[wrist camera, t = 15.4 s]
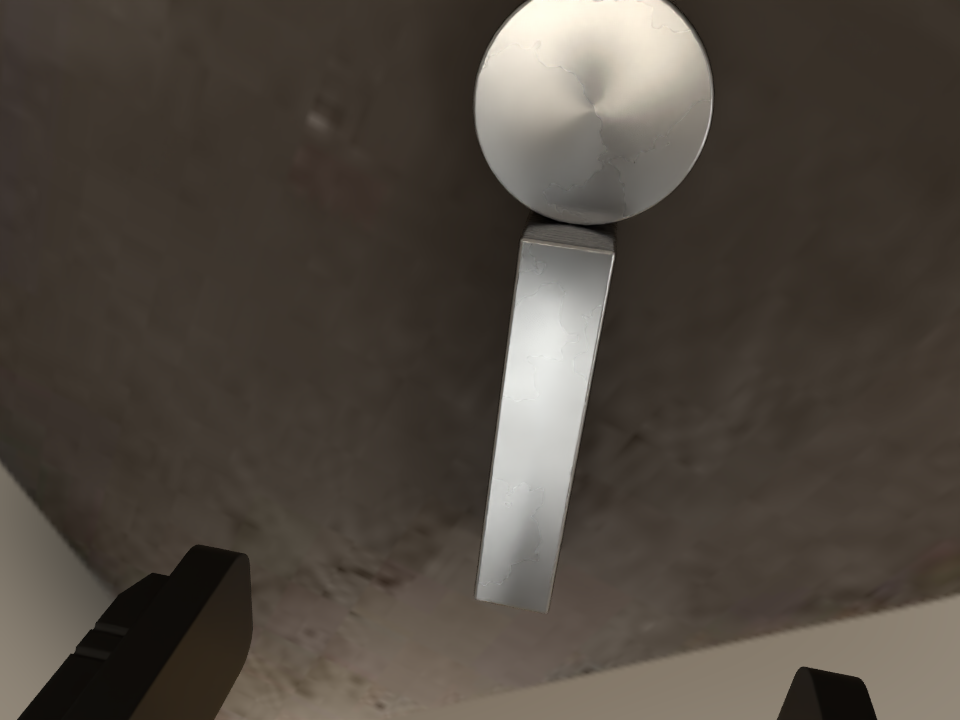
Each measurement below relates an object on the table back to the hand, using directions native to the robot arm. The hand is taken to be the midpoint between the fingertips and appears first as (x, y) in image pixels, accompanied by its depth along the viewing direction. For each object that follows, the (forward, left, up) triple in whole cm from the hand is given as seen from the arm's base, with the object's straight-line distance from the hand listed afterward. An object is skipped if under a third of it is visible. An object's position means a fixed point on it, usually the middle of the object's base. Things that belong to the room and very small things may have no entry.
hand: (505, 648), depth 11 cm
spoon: (0, +2, -8) cm, 8 cm away
